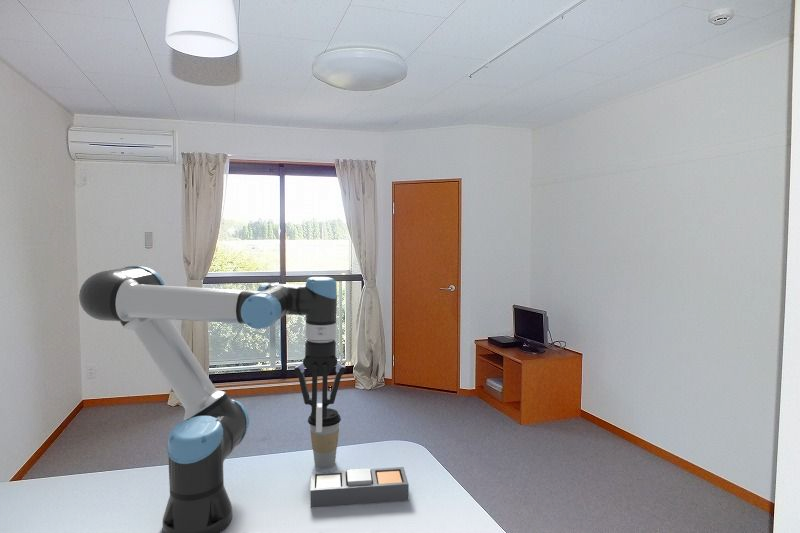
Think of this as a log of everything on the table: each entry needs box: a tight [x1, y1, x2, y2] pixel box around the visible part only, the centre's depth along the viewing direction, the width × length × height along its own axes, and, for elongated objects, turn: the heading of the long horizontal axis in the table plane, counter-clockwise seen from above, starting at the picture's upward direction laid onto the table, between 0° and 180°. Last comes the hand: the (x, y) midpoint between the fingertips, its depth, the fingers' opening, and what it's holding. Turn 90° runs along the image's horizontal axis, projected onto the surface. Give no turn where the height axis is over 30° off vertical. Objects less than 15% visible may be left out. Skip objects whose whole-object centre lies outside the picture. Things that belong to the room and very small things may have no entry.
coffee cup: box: [307, 407, 342, 469], centre depth 145 cm, size 9×9×15 cm
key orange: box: [377, 471, 402, 484], centre depth 130 cm, size 6×6×2 cm
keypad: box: [309, 466, 410, 509], centre depth 129 cm, size 24×9×4 cm, turn 98°
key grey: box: [347, 467, 372, 486], centre depth 129 cm, size 6×6×2 cm
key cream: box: [316, 475, 341, 488], centre depth 128 cm, size 6×6×2 cm
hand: (318, 429), depth 128 cm, fingers closed
